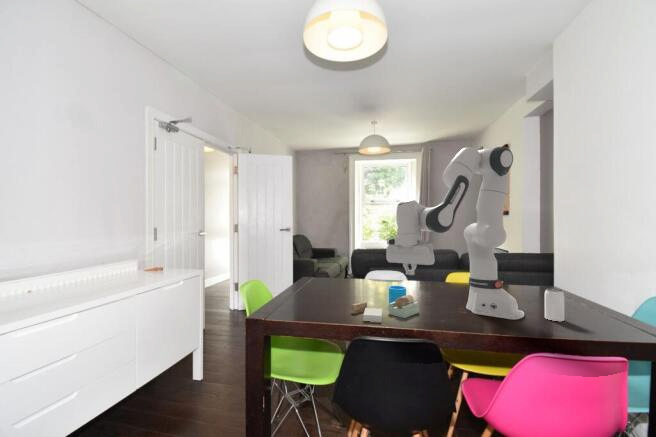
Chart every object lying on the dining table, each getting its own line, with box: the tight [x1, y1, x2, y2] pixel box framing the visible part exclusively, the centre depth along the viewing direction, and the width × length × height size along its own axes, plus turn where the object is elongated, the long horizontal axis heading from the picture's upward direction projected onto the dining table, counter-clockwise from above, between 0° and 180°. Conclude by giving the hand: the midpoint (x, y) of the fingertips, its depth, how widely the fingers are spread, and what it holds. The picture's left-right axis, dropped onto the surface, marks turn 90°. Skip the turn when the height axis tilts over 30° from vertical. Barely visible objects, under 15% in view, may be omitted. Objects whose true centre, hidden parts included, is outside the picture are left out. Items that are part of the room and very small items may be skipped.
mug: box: [388, 285, 407, 304], centre depth 149 cm, size 12×8×8 cm
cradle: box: [387, 301, 420, 319], centre depth 133 cm, size 8×11×4 cm
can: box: [544, 288, 565, 323], centre depth 125 cm, size 6×6×12 cm
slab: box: [363, 307, 383, 324], centre depth 126 cm, size 10×7×3 cm
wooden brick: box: [351, 300, 368, 315], centre depth 135 cm, size 2×8×4 cm, turn 134°
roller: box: [395, 294, 415, 308], centre depth 133 cm, size 4×8×4 cm, turn 134°
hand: (410, 274), depth 125 cm, fingers closed
